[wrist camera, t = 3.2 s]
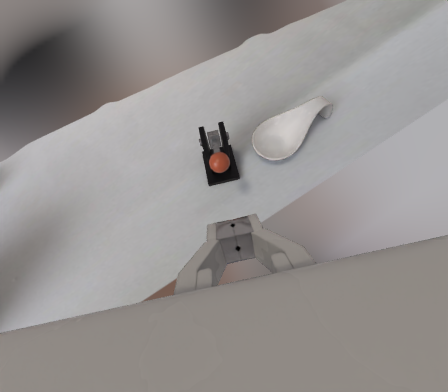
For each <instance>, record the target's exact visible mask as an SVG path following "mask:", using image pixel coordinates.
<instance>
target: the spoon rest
mask: <svg viewBox="0 0 448 392" xmlns="http://www.w3.org/2000/svg"><path fill="white" fill-rule="evenodd" d="M332 111H333V105H332V103H330V102H328V101H327V100H326V99H325V98H324V97H323V96H319V97H316V98H313V99H311V100H309V101H307V102H306V103H304V104H302V105H300V106H298V107H296V108H293V109H291V110H288V111H286V112H284V113H281V114H279V115H276V116H274V117H272V118H270V119H267V120H265V121H264V122H262V123H261V124H259V125H258V126H257V128H256V129H255V130H254V132H253V134H252V145H253V148H254V149H255V151H256V152H257V153H258V154H259V155H260V156H261V157H263V158H265V159H268V160H272V161H278V160H283V159H285V158H288V157H290V156H291V155H292V154H294V153H295V152H296V151H297V149H298V148H299V147H300V145H301V144H302V142H303V140H304V138H305V136H306V134H307V132H308V130H309V128H310V126H311V124H312V122H313V120H314V118H315V117H316V115H317V114H318V113H319V114H320V115H322V116H323V117H324V118H329V117H330V116H331V114H332Z"/></svg>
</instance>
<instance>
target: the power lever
mask: <svg viewBox="0 0 448 392" xmlns="http://www.w3.org/2000/svg"><path fill="white" fill-rule="evenodd" d="M207 135H208V140H209V144H210V147H211V148H213V150H214V154H213V155H212V156H211V157H210V160H209V164H210V167H211V169H212V170H213V171H215V172H217V173H222V172H225V171H226V170H227V169H228V167H229V165H230V160H229V157H228V156H227V155H226V154H225V153H223V152H220V148H219V147H220V146H221V142H220V137H219V133H218V130H215V131H211V132H207Z"/></svg>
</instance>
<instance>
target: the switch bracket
mask: <svg viewBox="0 0 448 392" xmlns="http://www.w3.org/2000/svg"><path fill="white" fill-rule="evenodd" d="M218 125H219V131H220V136H221V142H222V147H219V148H220V152H223V153H225V154H226V155H227V156H228V157H229V160H230V165H229V167H228V169H227V170H226V171H225V172H222V173H217V172H215V171H213V170H212V169H211V167H210V164H209V160H210V157H211V156H212V155H213V154H214V150H213V149H211V150H210V147H209V143H208V140H207V137H206V133H205V130H204V127H199V132H200V138H201V139H199V142H200V145H201V146H202V147H203V149H204V151H203V152H202V153H203V159H204V164H205V169H206V174H207V179H208V184H209V186H212V185H216V184H221V183H225V182H229V181H233V180H238V179H240V177H239V173H238V170H237V166H236V162H235V159H234V155H233V151H232V148H231V145H228V139H229V134H228V132H226V131H225V127H224V123H223V122H219V123H218Z"/></svg>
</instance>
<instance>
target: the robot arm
mask: <svg viewBox="0 0 448 392" xmlns="http://www.w3.org/2000/svg"><path fill="white" fill-rule="evenodd" d="M252 258H256V259H257V260H258V261H259V262H261V263H262V264H263V265H264V266H265V267H266V268H268V269H269V270H270V271H271V272H272V274H268V275H263V276H259V277H254V278H250V279H245V280H241V281H236V282H232V283H227V284H222V285H218V283H219V281H220V279H221V277H222V274H223V272H224V270H225V268H226V265H227V264H230V263H234V262H238V261H242V260H247V259H252ZM217 285H218V286H217ZM0 392H448V235H446V236H441V237H437V238H432V239H428V240H423V241H418V242H414V243H410V244H405V245H400V246H396V247H391V248H386V249H382V250H377V251H373V252H369V253H364V254H359V255H355V256H350V257H346V258H341V259H337V260H332V261H328V262H323V263H319V264H316V262H315V261H314V259H313V258H312V257H311V256H310V254H309V253H308V251H307V250H306V249H305V247H303V246H301V245H300V244H298V243H295V242H293V241H291V240H289V239H287V238H284V237H283V236H281V235H278V234H276V233H274V232H272V231H270V230H268V229H263V227H262V225H261V223H260V221H259V219H258V217H257V215H256V214H252V215H248V216H245V217H241V218H237V219H233V220H227V221H222V222H217V223H213V224H208V225H207V242H205V243H204V244H203V245H202V246H201V247H200V248H199V250H198V251H197V252H196V253H195V254H194V256H193V257H192V258H191V259H190V260H189V262H188V263H187V264H186V265H185V266H184V268H183V269H182V270H181V271H180V272H179V274H178V277H177V282H176V286H175V291H174V295H172V296H168V297H163V298H158V299H154V300H149V301H145V302H140V303H136V304H131V305H126V306H122V307H117V308H113V309H108V310H104V311H99V312H94V313H90V314H85V315H81V316H76V317H71V318H67V319H62V320H58V321H53V322H49V323H44V324H39V325H35V326H30V327H26V328H21V329H16V330H12V331H7V332H3V333H0Z"/></svg>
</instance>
